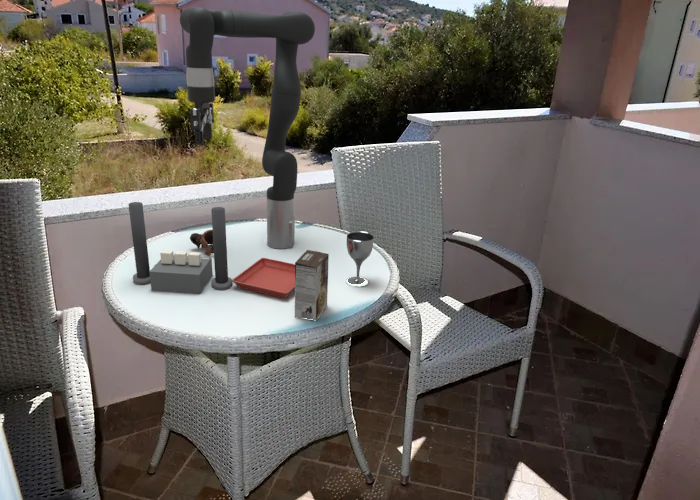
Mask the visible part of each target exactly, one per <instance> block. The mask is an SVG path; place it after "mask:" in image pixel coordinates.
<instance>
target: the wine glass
mask: <svg viewBox="0 0 700 500" xmlns="http://www.w3.org/2000/svg"><path fill="white" fill-rule="evenodd" d="M374 239H375V236H374V235H373V234H372V233H370V232H367V231H351V232H349V233H347V235H346V249H347V253H348V255H349V257H350V258H351V259H352V260H353V261H354V263H355V266H356V276H351V278H350V277H348V278H349V279H348V278H347V279H348V282H349V283H351V284H361V283H363V282H364V281H365V280H364V279H363V278H364V277H363V278H360V277H361V276H360V271H361V267H362V264H363V263H364V262H365V261H366V260H367V259H368V258H369V257H370V256H371V254H372V251H373V247H374Z"/></svg>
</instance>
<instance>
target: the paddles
mask: <svg viewBox="0 0 700 500" xmlns="http://www.w3.org/2000/svg"><path fill="white" fill-rule="evenodd" d="M159 255H160V260H161V263H165V264H172V263H175V264H181V265H186V263H187V264H189V265H197V266H199V265H200V264H202V262H201V257H202V253H201V252H197V251H190V252H189V253H188V251H181V250H179V251H178V250H177V251H175V252H174V250H165V249H164V250H163V249H162V251H160V253H159ZM187 256H188V259H187ZM174 258H175V260H174ZM188 260H189V261H188Z"/></svg>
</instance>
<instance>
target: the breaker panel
mask: <svg viewBox="0 0 700 500" xmlns="http://www.w3.org/2000/svg"><path fill="white" fill-rule="evenodd" d="M187 259H188V255H187ZM174 260H175V258H174ZM188 261H189V260H188ZM201 262H202V264H200V265H199V266H197V265H189V264H187V263H186V265H181V264H175V263H172V264H165V263H161V259H159V261H158V262H156V264H155V265H154V266H153V267H152V268H151V269H150V271H149V274H150V290H151V291H152V292H164V293H165V292H166V293H167V292H168V293H180V294H182V293H183V294H194V295H195V294H197V295H198V294H199V295H201V294H202V292H203V291H204V289H206V286H207V285H208V283H209V282H210V281H211V280H212V278H213V259H212V257H210V256H201Z"/></svg>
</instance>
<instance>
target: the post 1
mask: <svg viewBox="0 0 700 500" xmlns="http://www.w3.org/2000/svg"><path fill="white" fill-rule="evenodd" d="M128 213H129V221H130V227H131V229H130V230H131V236H132V237H131V238H132V244H133V254H134V261H135V269H136V273H135V274H133V275H132V281H133V284H135V285H138V286H146V285H151V283H150V274H149V271H150V270H151V269H150V260H149V251H148V243H147V242H148V241H147V231H146V224H145V215H144V205H143V202H140V201H133V202H129V203H128Z"/></svg>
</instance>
